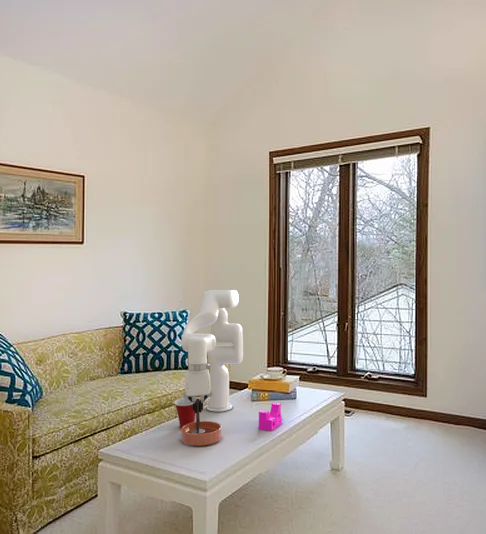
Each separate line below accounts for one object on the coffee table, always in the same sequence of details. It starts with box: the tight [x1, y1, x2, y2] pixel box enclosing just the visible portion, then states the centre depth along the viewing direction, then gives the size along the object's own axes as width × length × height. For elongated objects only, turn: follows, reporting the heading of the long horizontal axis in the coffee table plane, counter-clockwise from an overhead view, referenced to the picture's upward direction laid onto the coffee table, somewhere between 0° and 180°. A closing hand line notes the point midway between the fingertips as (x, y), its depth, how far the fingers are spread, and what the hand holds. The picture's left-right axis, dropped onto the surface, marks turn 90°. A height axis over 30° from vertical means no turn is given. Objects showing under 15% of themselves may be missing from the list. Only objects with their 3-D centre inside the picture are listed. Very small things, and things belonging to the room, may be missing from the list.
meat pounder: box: [191, 397, 205, 434], centre depth 200 cm, size 6×6×16 cm
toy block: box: [258, 402, 283, 432], centre depth 220 cm, size 15×6×8 cm, turn 156°
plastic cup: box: [173, 396, 198, 429], centre depth 217 cm, size 11×11×12 cm
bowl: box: [180, 420, 222, 447], centre depth 201 cm, size 16×16×5 cm
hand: (197, 411), depth 200 cm, fingers closed on meat pounder, 1 cm apart
